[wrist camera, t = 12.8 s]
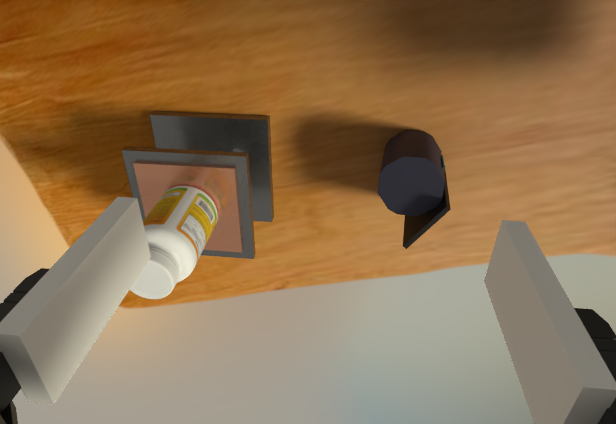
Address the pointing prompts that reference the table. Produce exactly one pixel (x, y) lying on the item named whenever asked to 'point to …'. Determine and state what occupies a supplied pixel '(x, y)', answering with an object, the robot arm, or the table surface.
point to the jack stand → (209, 171)
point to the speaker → (414, 182)
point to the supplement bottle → (174, 239)
